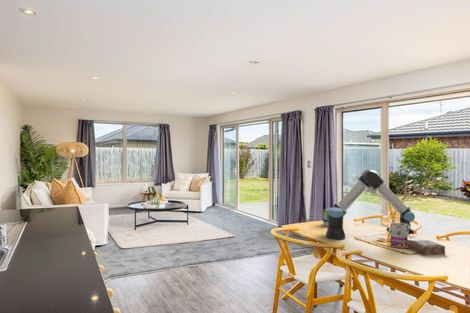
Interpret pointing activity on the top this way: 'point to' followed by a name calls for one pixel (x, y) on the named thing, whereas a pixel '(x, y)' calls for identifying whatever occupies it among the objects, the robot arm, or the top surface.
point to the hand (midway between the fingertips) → (398, 233)
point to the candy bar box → (399, 234)
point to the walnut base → (426, 247)
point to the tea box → (325, 217)
